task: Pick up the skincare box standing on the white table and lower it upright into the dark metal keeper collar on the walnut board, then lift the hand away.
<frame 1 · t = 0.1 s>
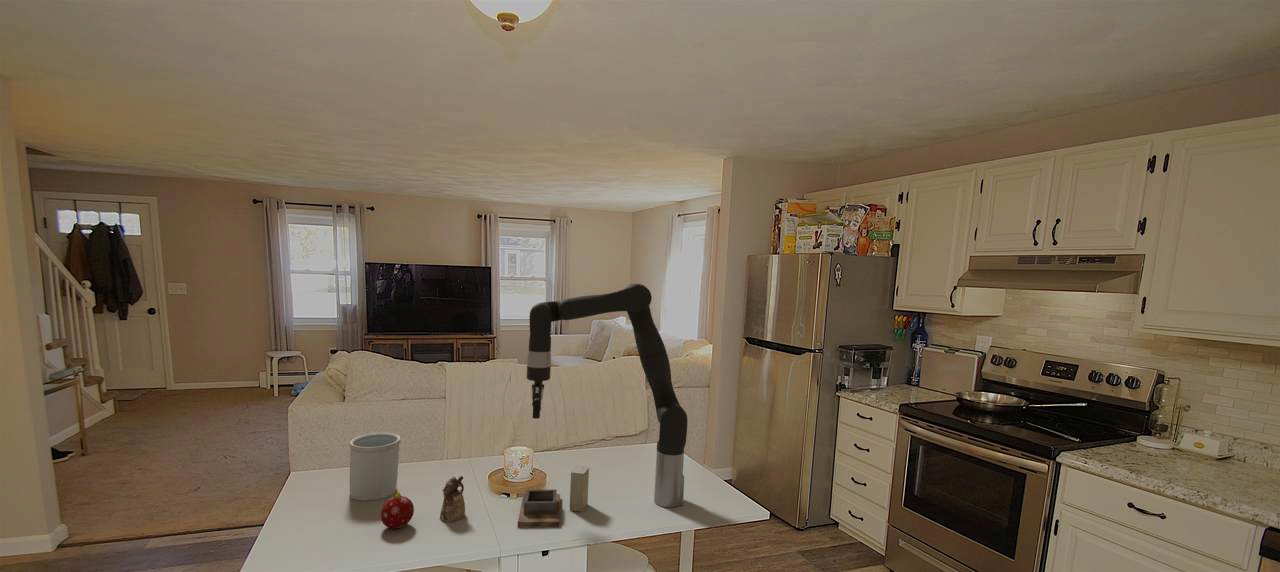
hand: (536, 414, 163), 29 cm above the table, tool pointing down, fingers open, 8 cm apart
keeper board: (540, 511, 158), on the table
figurine: (452, 517, 152), on the table
skincare box: (578, 507, 163), on the table
keeper collar: (540, 501, 158), on the keeper board, point 3 cm above the table
utensil holder: (373, 492, 166), on the table
christmas ornament: (396, 527, 145), on the table
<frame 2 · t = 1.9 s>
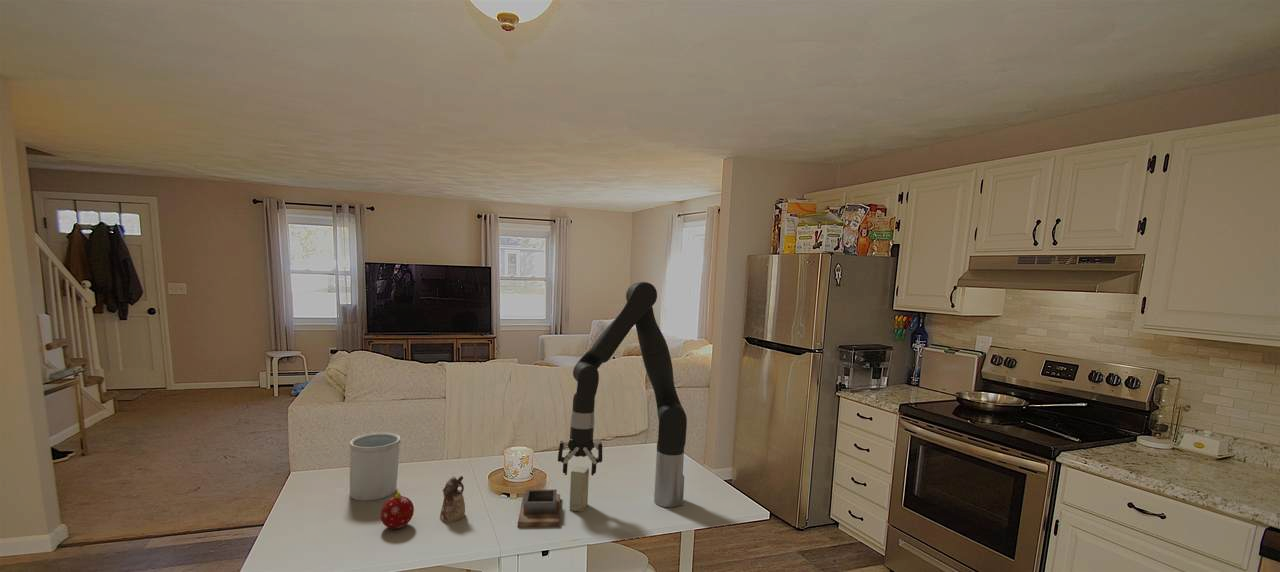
hand: (579, 474, 163), 11 cm above the table, tool pointing down, fingers open, 8 cm apart
nothing on the table moved.
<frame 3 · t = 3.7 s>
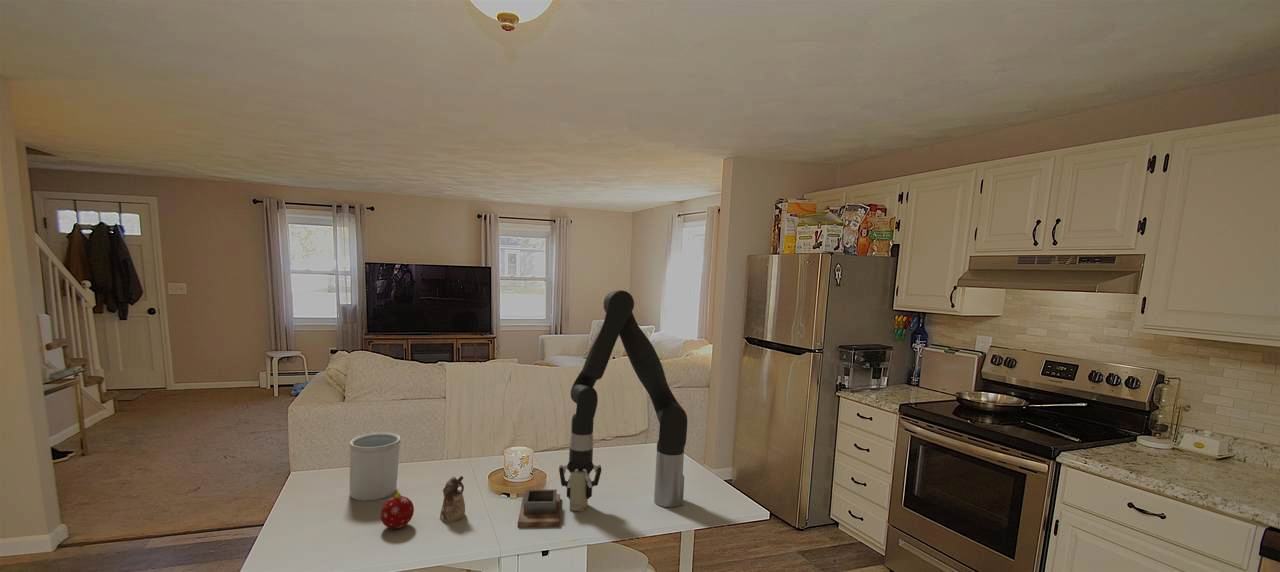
hand: (578, 497, 163), 3 cm above the table, tool pointing down, fingers closed on skincare box, 5 cm apart
skincare box: (578, 507, 163), on the table, touching gripper
everything else where it was.
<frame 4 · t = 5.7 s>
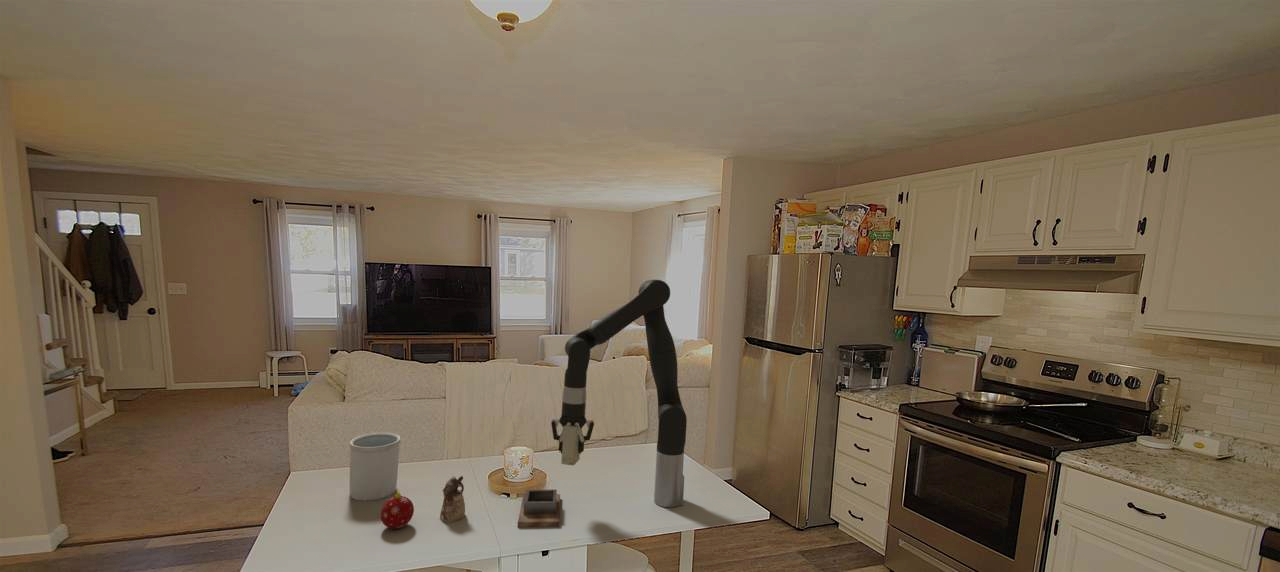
hand: (570, 452, 162), 18 cm above the table, tool pointing down, fingers closed on skincare box, 5 cm apart
skincare box: (570, 462, 162), point 15 cm above the table, touching gripper
everything else where it was.
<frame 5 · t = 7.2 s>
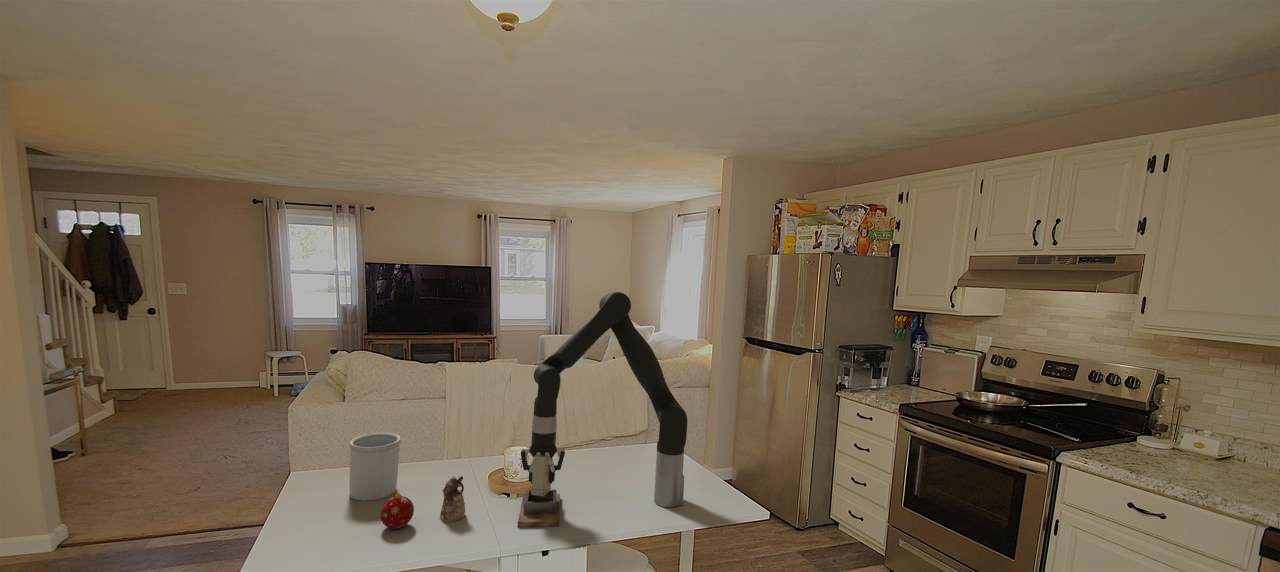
hand: (541, 482, 158), 9 cm above the table, tool pointing down, fingers closed on skincare box, 5 cm apart
skincare box: (540, 492, 158), point 6 cm above the table, touching gripper
everything else where it was.
when the fingers open (7 cm above the table, at t = 8.1 s): skincare box drops 2 cm, resting on keeper board.
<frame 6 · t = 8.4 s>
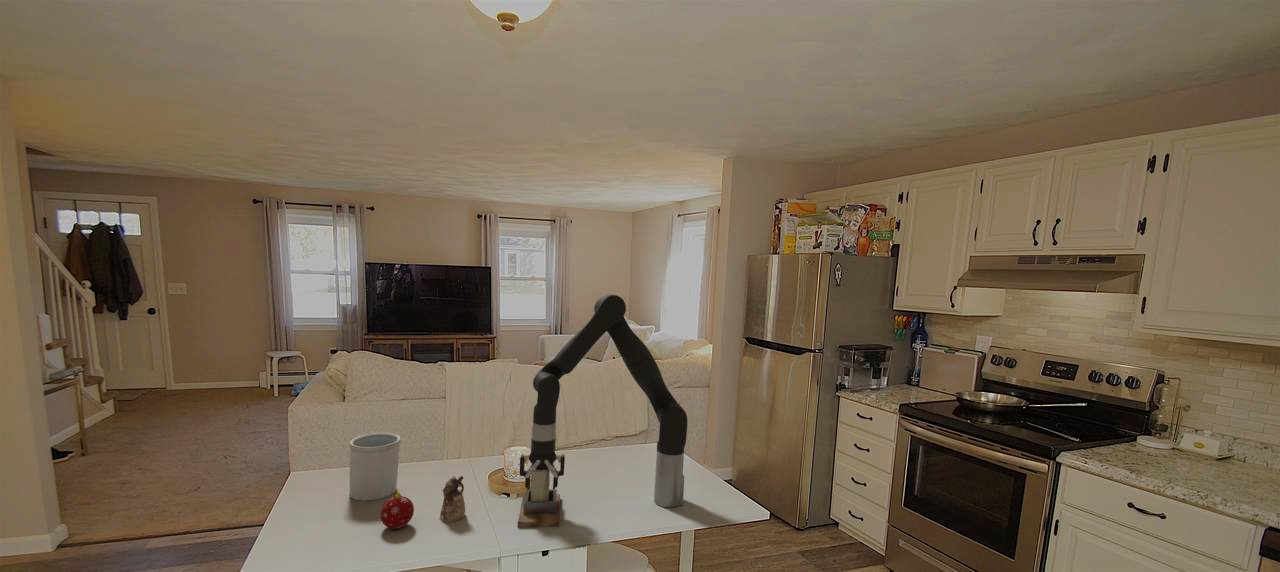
hand: (541, 488, 158), 7 cm above the table, tool pointing down, fingers open, 7 cm apart
skincare box: (539, 507, 158), point 1 cm above the table, touching keeper board
everything else where it was.
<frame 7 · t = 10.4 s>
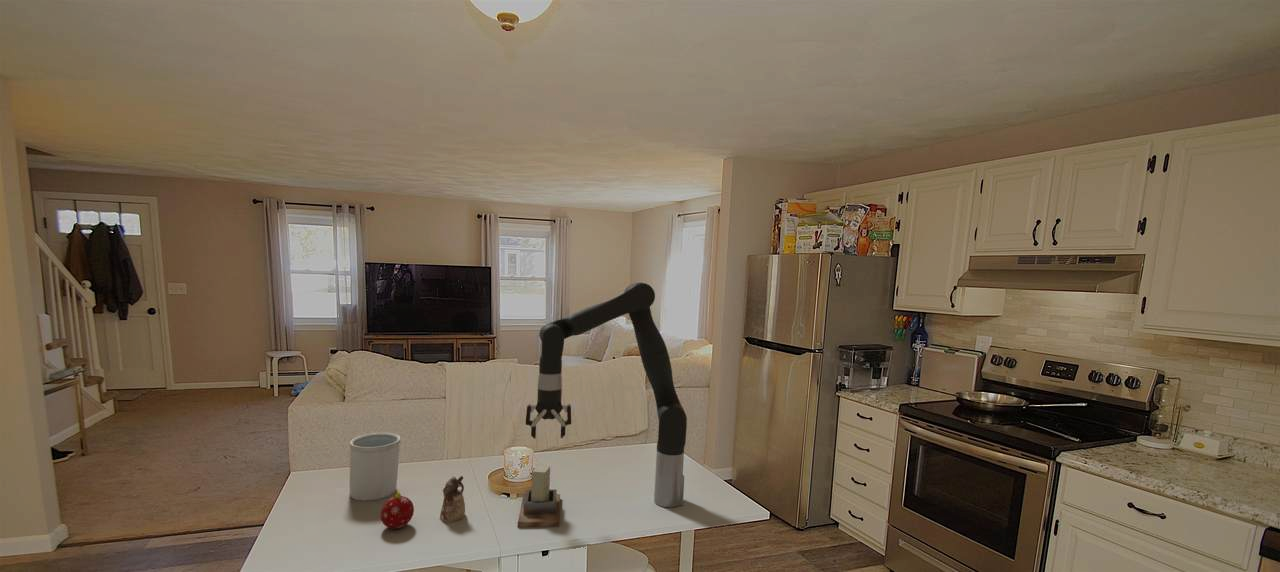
hand: (548, 437, 160), 23 cm above the table, tool pointing down, fingers open, 8 cm apart
nothing on the table moved.
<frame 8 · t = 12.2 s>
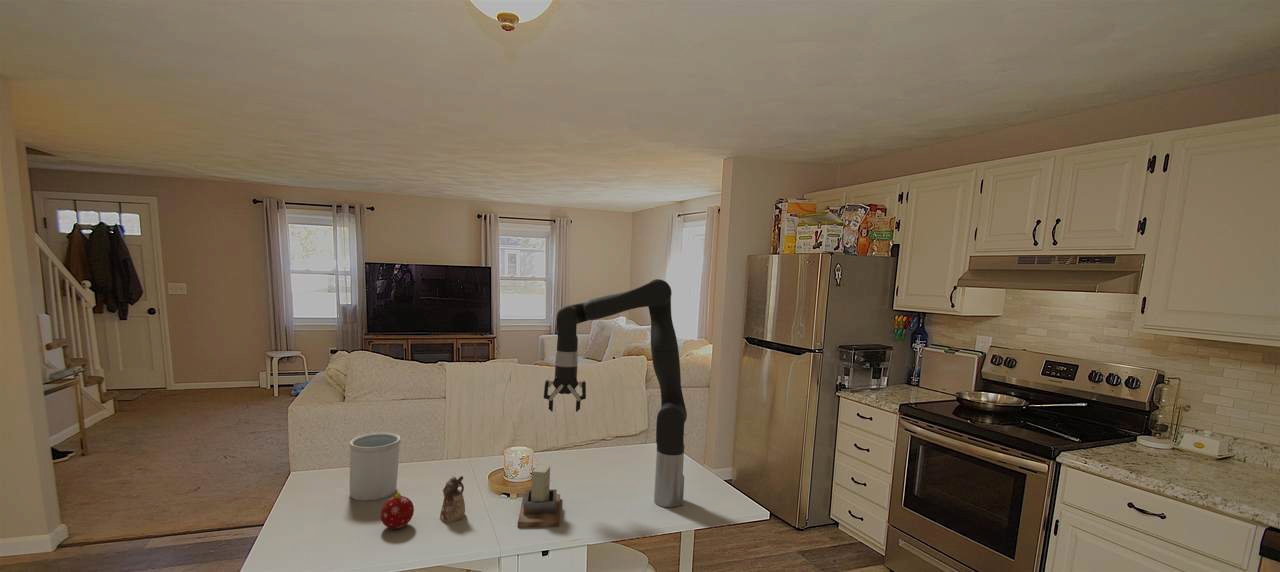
hand: (564, 411, 172), 28 cm above the table, tool pointing down, fingers open, 8 cm apart
nothing on the table moved.
at the end: skincare box 0.2 cm off-centre on the keeper collar, point 1.3 cm above the keeper collar's base; skincare box tilted 0°; the gripper is holding nothing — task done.
